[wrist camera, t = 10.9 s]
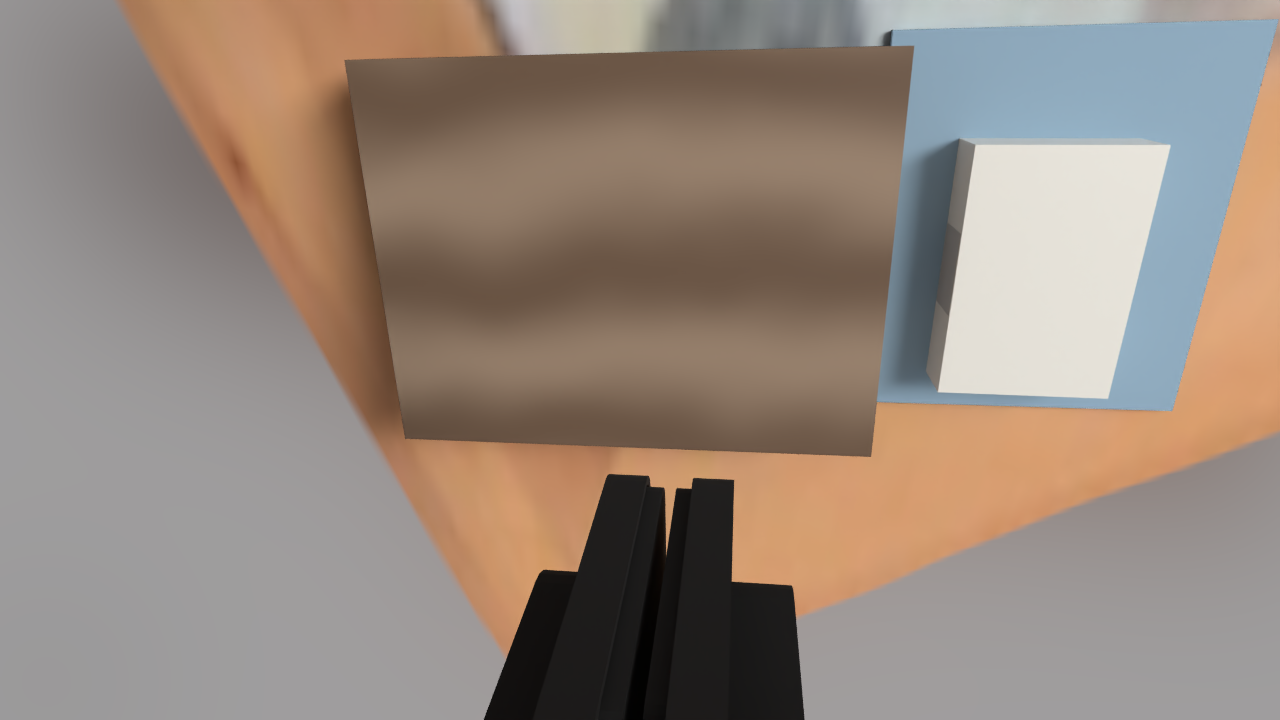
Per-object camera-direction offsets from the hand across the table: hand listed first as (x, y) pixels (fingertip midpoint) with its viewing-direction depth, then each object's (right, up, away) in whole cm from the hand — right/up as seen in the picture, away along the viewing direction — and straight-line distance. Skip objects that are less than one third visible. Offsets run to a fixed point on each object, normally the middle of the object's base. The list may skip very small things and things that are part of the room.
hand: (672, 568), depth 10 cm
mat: (+14, +8, +18) cm, 24 cm away
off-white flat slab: (+14, +6, +17) cm, 23 cm away
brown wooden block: (-1, +7, +20) cm, 21 cm away
